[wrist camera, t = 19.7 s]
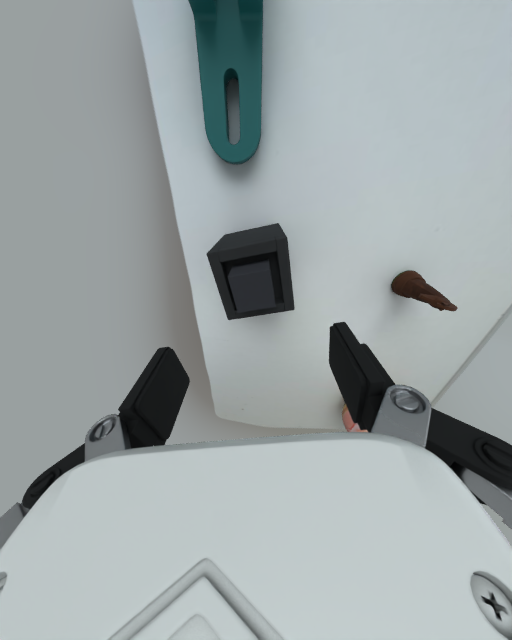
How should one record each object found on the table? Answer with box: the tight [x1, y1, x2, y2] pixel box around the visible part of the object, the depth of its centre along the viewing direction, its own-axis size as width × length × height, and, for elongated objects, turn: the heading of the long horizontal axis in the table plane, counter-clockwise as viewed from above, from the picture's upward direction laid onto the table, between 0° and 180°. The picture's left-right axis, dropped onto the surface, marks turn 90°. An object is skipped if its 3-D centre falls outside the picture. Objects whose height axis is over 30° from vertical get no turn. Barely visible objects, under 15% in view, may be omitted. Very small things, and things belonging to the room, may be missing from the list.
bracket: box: [189, 0, 263, 164], centre depth 19 cm, size 18×7×8 cm, turn 0°
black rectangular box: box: [207, 223, 294, 320], centre depth 28 cm, size 9×9×12 cm
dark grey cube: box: [228, 259, 276, 313], centre depth 23 cm, size 4×4×4 cm
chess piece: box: [392, 271, 457, 311], centre depth 31 cm, size 5×5×10 cm
